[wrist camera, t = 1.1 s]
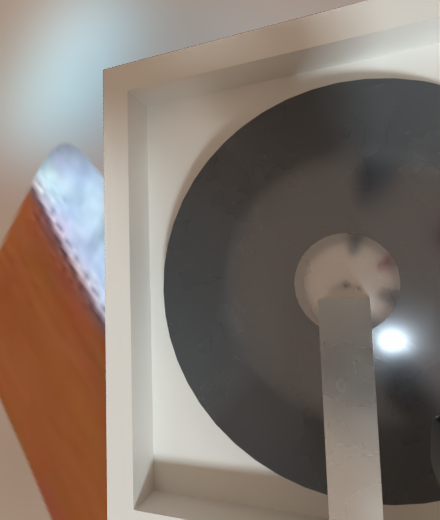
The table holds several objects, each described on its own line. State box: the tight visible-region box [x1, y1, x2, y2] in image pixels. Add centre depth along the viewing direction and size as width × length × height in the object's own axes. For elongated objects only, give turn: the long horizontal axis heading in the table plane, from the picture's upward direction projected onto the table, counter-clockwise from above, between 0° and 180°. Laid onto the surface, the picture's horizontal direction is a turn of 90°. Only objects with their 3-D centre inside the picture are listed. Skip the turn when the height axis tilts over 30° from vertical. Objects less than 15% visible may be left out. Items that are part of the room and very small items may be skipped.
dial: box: [163, 78, 440, 520], centre depth 16 cm, size 18×18×6 cm
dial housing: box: [103, 0, 440, 520], centre depth 18 cm, size 24×24×4 cm
